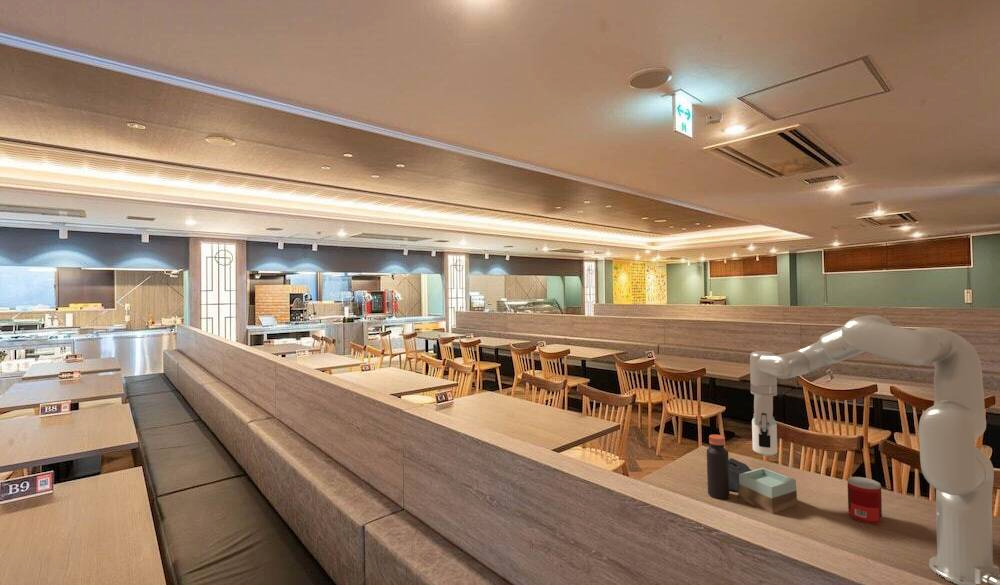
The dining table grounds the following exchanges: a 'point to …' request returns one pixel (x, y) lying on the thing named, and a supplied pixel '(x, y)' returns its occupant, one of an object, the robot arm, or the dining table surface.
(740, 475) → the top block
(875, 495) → the canned food
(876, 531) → the dining table surface
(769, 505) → the bottom block
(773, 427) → the can
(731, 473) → the dark slate chunk
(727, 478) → the bottle
